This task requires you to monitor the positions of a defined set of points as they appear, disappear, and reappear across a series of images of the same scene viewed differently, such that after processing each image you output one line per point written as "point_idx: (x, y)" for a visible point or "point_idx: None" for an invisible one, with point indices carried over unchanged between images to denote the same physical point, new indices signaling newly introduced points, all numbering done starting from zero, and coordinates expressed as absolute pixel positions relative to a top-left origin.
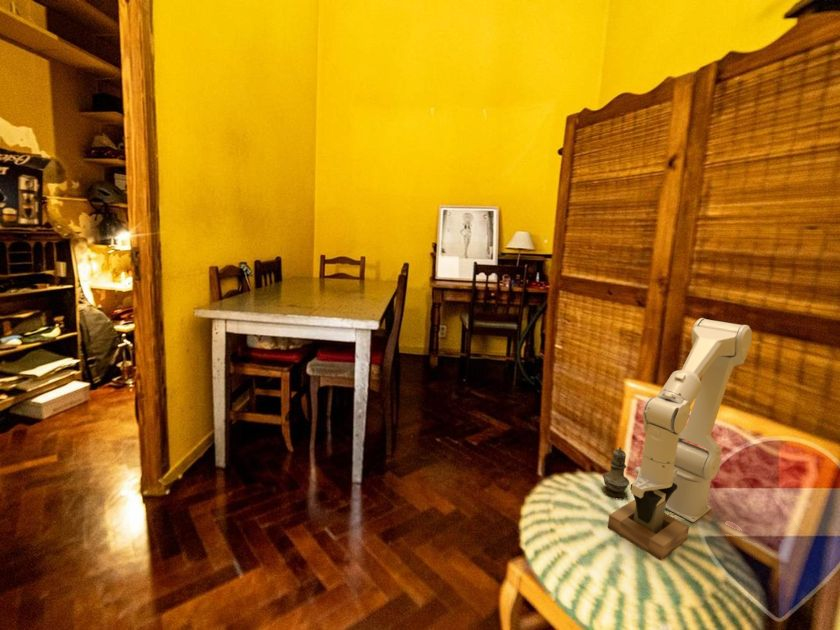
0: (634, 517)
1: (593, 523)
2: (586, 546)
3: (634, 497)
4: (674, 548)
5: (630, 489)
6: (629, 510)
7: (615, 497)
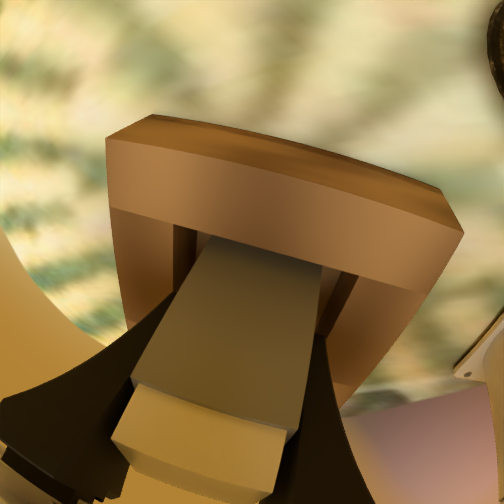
0: (197, 260)
1: (125, 52)
2: (14, 120)
3: (62, 376)
4: None
5: (3, 399)
6: (260, 219)
7: (495, 70)
